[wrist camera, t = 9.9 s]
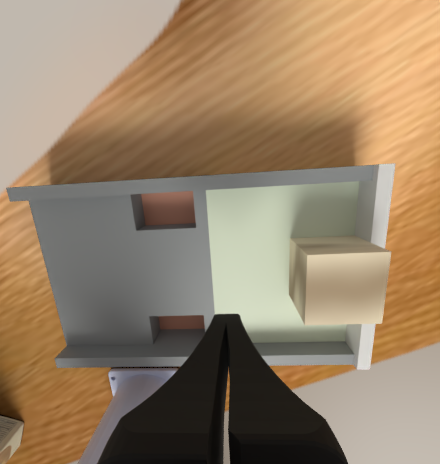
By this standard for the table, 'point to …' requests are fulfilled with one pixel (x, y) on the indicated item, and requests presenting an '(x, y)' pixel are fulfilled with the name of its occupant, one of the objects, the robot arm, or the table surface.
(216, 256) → the trap box
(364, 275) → the birch block
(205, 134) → the table surface
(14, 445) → the skincare box
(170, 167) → the table surface
